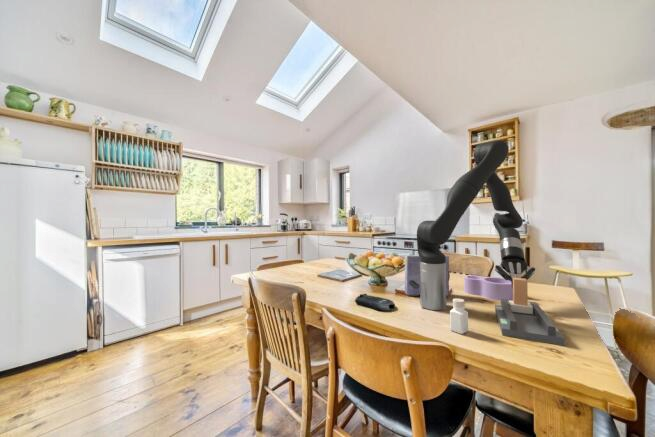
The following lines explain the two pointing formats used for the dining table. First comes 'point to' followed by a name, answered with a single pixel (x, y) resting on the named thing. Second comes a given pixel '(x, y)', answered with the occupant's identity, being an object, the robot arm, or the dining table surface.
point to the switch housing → (528, 324)
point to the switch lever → (520, 297)
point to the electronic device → (375, 302)
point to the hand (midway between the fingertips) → (517, 290)
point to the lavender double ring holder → (488, 287)
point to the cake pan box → (418, 275)
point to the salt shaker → (458, 317)
